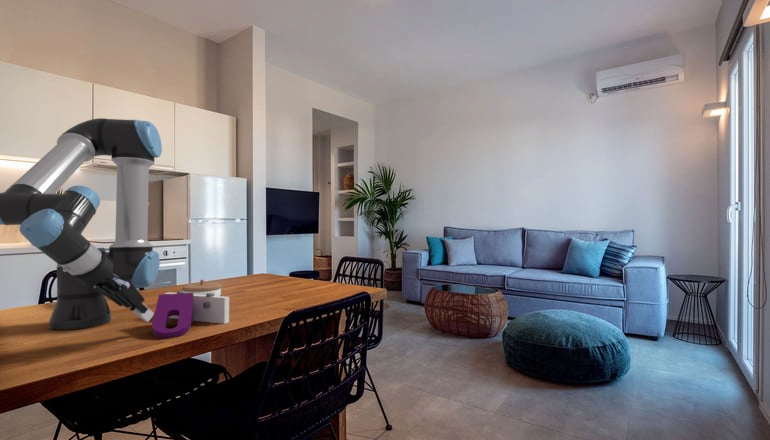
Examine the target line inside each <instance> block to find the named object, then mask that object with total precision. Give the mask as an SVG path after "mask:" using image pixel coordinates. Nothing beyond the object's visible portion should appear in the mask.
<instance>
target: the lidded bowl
mask: <svg viewBox="0 0 770 440" xmlns="http://www.w3.org/2000/svg"><path fill="white" fill-rule="evenodd" d="M181 289H182V290H181V291H185V293H193V294H197V295H206V294H207V293H214V296H221V294H222V284H221V283H220V282H205V279H200V280H199V282H198V283H197V282H196V283H188V284H185V285H183V286H182V288H181Z"/></svg>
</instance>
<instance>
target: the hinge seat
mask: <svg viewBox="0 0 770 440" xmlns="http://www.w3.org/2000/svg"><path fill="white" fill-rule="evenodd" d="M179 293H185V291H183V290H179V291H176V292H172V291H171V292H164V293H163V294H179ZM163 294H162V295H163ZM193 301H194V315H193V322H194V321H196V322H202V323H205V322H206V323H213V324H222V325H225V324H228V323H230V296H223V295H222V296H221V295H220V296H214V293H207V294H206V295H197V294H193ZM168 319H175V320H178V319H179V316H177V315H173V316H170V317H168Z"/></svg>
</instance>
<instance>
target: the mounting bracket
mask: <svg viewBox="0 0 770 440" xmlns="http://www.w3.org/2000/svg"><path fill="white" fill-rule="evenodd" d="M173 315H177V316H179V319H177V325H176V326H175V327H172V328H168V325H169V318H168V317H170V316H173ZM193 315H194V301H193V293H179V294H158V297H157V302H156V306H155V311H154V315H153V319H152V333H153V335H154V336H155V337H157V338H160V339H173V338H178V337H181V336H184V335H185V334H186V333H187V332H188V331H189V330H190V328H191V326H193V325H194V321H193Z"/></svg>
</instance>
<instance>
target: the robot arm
mask: <svg viewBox="0 0 770 440" xmlns="http://www.w3.org/2000/svg"><path fill="white" fill-rule="evenodd" d="M162 152H163V146H162V140H161V135H160V133H159V131H158V129H157V127H156V125H155V124H154V123H152V122H151V121H147V120H141V119H140V120H138V119H119V118H118V119H116V118H102V117H101V118H100V117H99V118H92V119H89V120H86V121H83V122H80V123H78V124H76V125H74V126H72V127H70V128H69V129H67V130H65V131H64V132H63V133H62V134H61V135H60V136H59V137H57V140H56V145H54V147H52V149H50V150H49V151H48V152H47V153H46V154H44V156H43V157H42V158H40V159H39V160H38V161H37V162H36V163H35V164H34V165H33V166H32V167H30V168H29V169H28V170H27V171H26V172H25V173H24V174H23V175H22V176H21V177H20V178H18V179H17V180H16V181H15V182H14V183H12V184H11V186H10V187H8V188H7V189H6V190H5V191H4V192H0V225H2V226H19V232H20V233H21V235H22V236H23V237H24V239H26V240H27V241H28V242H30V244H31V245H32V246H33V247H35V248H36V249H38V250H39V251H41V252H42V253H43V254H44V255H46V256H47V257H49V259H51V260H52V261H53V262H55V263H56V278H57V279H56V296H57V297H56V303H55V305H54V308H53V311H52V313H51V315H50V318H49V321H48V326H49V329H50V330H54V331H60V330H61V331H69V330H77V329H86V328H91V327H96V326H100V325H104V324H107V323H109V322H111V321H112V311H111V309H110V307H109V304H108V301H107V299H106V298H108V300H110V301H112V302H113V303H115V304H116V305H117V306H118V307H122V306H123V307H124V308H127V309H129V310H130V311H131V312H132V313H134V314H135V316H137V317H138V318H139V319H141V320H142V321H143V322H145V323H146V322H147V323H149V322H150V320H151V319H152V318H153V317H154V314H155V312H153V311H152V310H151V309H150V308H149V307H147V305H146V304H145V303H144V301H145V298H144V296H143V295H142V294H141V293H140V292H139V290H138V289H141V288H142V289H144V288H147V287H150V286H151V285H152V284H153V283H154V282H155V280H156V279H157V276H158V274H159V271H160V270H159V269H160V264H161V263H160V262H161V259H160V254H159V253H158V252H157V251H155V250H154V249H153V244H151V243H150V242H149V240H148V231H149V228H148V227H149V226H148V225H149V224H148V222H149V179H150V177H149V176H150V168H151V167H152V166H154V164H155V159H156V158H160V157H161V155H162ZM99 156H101V157H102V156H110V158H111V162H113V163H114V164H115V165H116V193H115V194H116V195H115V196H116V198H115V199H116V201H115V203H116V204H115V234H114V235H115V237H114V238H115V241H114V242H112V243H111V244H110V245H109V247H108V249H109V250H108V251H107V250H106V248H105V247H98V248H97V247H96V246H95V245H94V244H93V243H92V242H90V241H89V240H88V239H87V238H86V237H85V236H84V235H83V232H84V230H85V229H86V227H87V226H88V224H89V222H91V219H92V218H93V217H94V216H95V215H96V213H97V211H98V208H99V207H100V203H101V198H100V195H98V193H97V192H96V191H95V190H93V189H92V188H90V187H87V186H85V185H73V186H71V187H68V189H66V190H64V192H63V193H57V191H58V190H59V189H60V188H61V187H63V185H64V184H65V183H66V182H67V181H68V179H70V177H72V175H73V174H75V172H76V171H78V169H79V168H80V167H81V166H82V165H83V163H87V162H90V161H91V160H92V159H94V157H99Z"/></svg>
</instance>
